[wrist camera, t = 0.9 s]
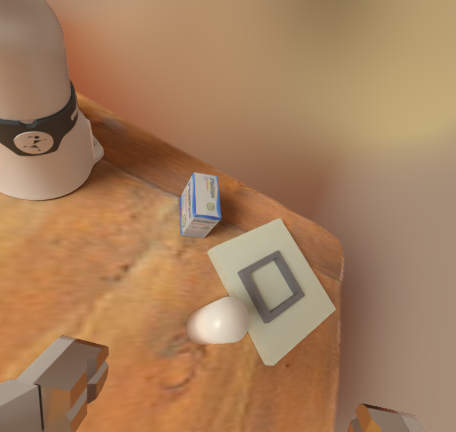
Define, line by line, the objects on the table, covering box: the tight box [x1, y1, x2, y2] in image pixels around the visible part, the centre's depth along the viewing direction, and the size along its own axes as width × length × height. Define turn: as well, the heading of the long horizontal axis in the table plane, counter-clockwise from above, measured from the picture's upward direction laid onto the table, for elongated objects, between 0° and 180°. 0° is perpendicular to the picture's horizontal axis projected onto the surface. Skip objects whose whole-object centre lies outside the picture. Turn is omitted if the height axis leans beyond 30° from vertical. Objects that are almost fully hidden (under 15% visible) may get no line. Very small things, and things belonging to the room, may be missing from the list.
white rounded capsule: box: [185, 297, 249, 345], centre depth 34 cm, size 5×5×11 cm
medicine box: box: [180, 173, 221, 238], centre depth 42 cm, size 8×4×9 cm, turn 6°
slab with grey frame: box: [207, 218, 336, 366], centre depth 45 cm, size 20×17×4 cm
